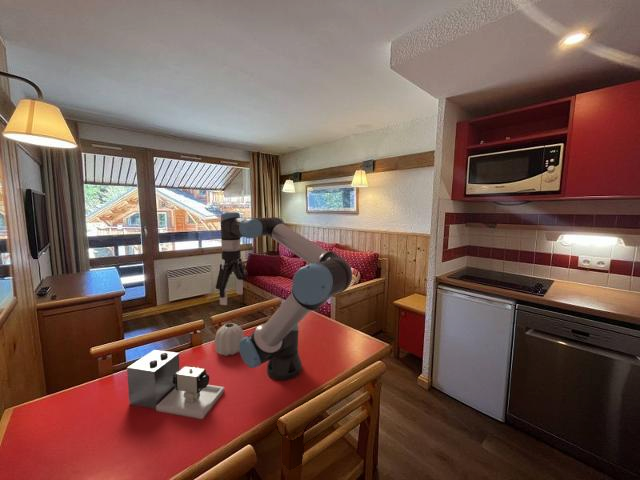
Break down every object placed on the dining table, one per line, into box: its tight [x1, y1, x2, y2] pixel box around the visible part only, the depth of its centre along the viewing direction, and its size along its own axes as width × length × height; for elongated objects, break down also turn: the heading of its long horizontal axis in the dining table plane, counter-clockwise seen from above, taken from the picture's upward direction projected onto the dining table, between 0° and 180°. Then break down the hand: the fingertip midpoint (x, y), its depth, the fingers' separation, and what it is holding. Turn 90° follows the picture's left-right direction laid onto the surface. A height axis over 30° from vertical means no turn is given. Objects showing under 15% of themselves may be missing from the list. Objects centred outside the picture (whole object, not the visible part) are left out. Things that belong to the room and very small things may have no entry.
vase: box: [214, 322, 245, 357], centre depth 130 cm, size 14×14×13 cm
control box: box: [126, 349, 181, 410], centre depth 98 cm, size 11×12×15 cm
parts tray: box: [155, 384, 225, 420], centre depth 97 cm, size 18×14×2 cm
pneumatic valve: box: [173, 366, 210, 403], centre depth 96 cm, size 6×12×12 cm, turn 80°
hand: (232, 299), depth 113 cm, fingers open, 13 cm apart
